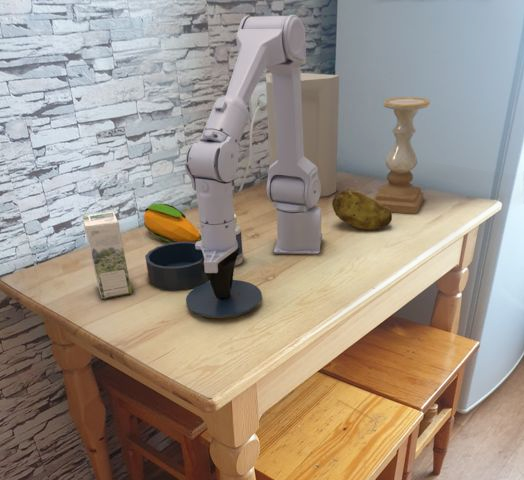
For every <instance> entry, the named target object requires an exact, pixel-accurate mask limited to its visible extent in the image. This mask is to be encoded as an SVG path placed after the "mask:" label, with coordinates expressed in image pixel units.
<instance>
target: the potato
mask: <svg viewBox="0 0 524 480" xmlns="http://www.w3.org/2000/svg"><path fill="white" fill-rule="evenodd" d="M331 206H332V209H333V212H334V213H335V215H336V216H337V217H338V219H339V220H341V221H342V222H344V223H346V224H349V225H351V226H352V227H354V228H356V229H358V230H362V231H363V230H364V231H373V230H378V229H382V228H386V227H387V226H389V225H390V224H391V223H392V221H393V212H391V210H390V209H389V208H388V207H386V206H385V205H383V204H381V203H379V202H377V201H374V200H373V199H372V198H371V197H369V196H367V195H365V194H363V193H362V192H359V191H358V190H351V189H347V190H344V191H341V192H339V193H337V195H334V197H333V199H332V202H331Z"/></svg>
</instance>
